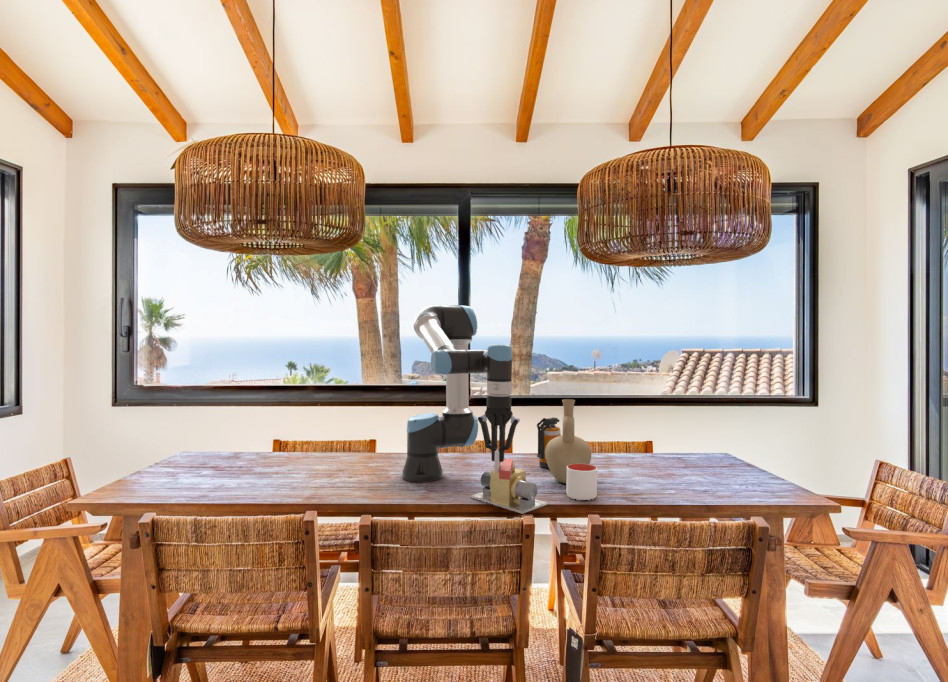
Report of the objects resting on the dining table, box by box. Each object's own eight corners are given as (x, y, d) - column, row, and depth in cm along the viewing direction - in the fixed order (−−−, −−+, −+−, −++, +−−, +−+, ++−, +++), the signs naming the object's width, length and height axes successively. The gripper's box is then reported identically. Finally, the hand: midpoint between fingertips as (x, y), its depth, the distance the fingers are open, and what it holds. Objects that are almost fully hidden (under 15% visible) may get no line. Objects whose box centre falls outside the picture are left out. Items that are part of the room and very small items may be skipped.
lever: (502, 468, 180) (502, 457, 180) (515, 468, 180) (515, 457, 180) (497, 482, 164) (497, 470, 164) (511, 482, 163) (511, 471, 163)
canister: (566, 467, 222) (566, 418, 222) (545, 471, 216) (546, 420, 215) (551, 462, 230) (551, 415, 229) (530, 466, 223) (531, 417, 223)
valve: (471, 497, 182) (471, 467, 182) (495, 490, 190) (495, 461, 190) (522, 513, 166) (522, 481, 166) (546, 505, 175) (546, 473, 174)
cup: (592, 492, 188) (593, 463, 188) (600, 501, 178) (600, 471, 178) (563, 492, 188) (563, 463, 188) (569, 502, 178) (570, 471, 178)
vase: (592, 489, 192) (593, 403, 191) (544, 486, 195) (544, 402, 194) (590, 476, 208) (590, 397, 208) (545, 474, 211) (546, 396, 210)
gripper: (475, 395, 166) (473, 472, 167) (516, 397, 162) (515, 477, 163) (482, 392, 173) (481, 467, 174) (522, 394, 169) (520, 471, 170)
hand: (497, 471), depth 168 cm, fingers closed
